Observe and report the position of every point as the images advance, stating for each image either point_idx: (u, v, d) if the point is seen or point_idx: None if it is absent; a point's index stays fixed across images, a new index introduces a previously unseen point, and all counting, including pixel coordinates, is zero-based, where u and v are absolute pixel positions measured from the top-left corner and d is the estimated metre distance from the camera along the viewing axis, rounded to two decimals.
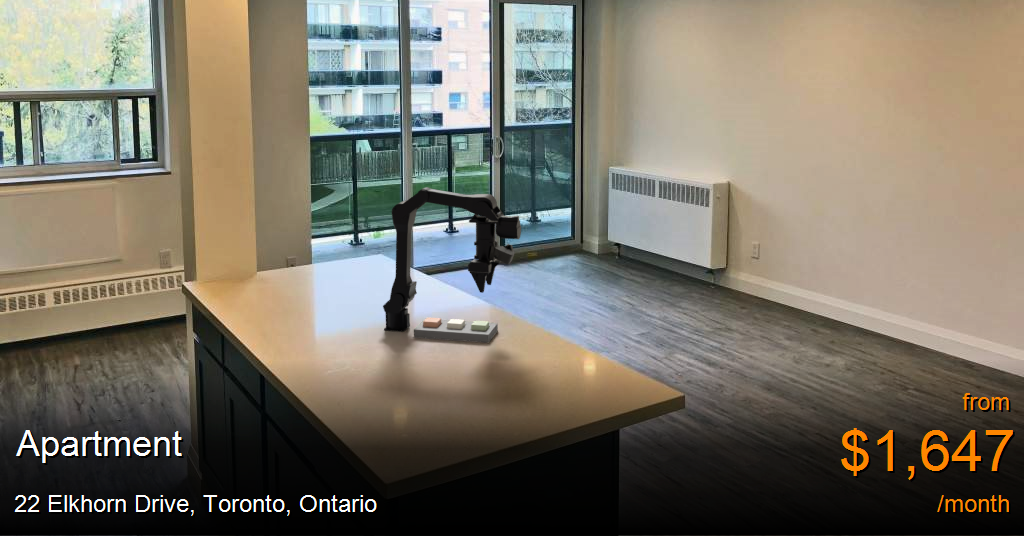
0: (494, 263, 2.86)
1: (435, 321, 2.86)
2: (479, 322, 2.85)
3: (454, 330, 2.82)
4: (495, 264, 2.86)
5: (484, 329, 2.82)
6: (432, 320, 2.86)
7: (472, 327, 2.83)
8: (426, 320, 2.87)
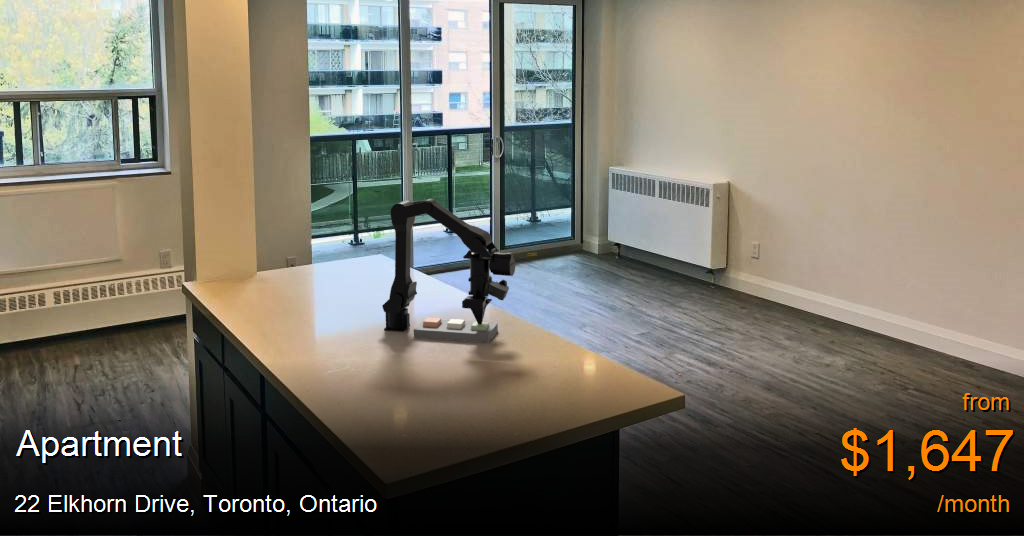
0: None
1: (435, 321, 2.86)
2: None
3: (454, 330, 2.82)
4: (486, 303, 2.83)
5: (484, 330, 2.82)
6: (432, 320, 2.86)
7: (472, 328, 2.83)
8: (426, 320, 2.87)
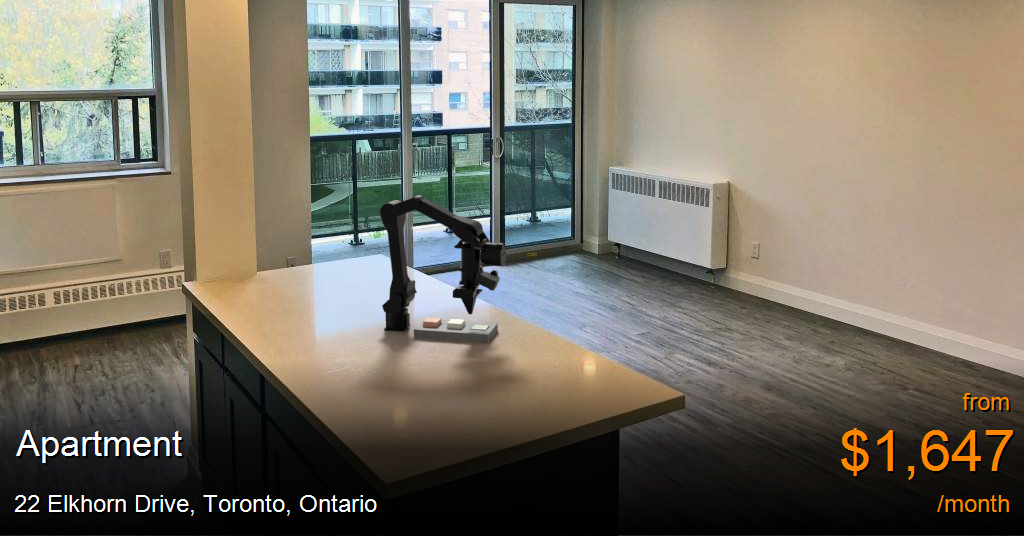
0: (476, 292, 2.83)
1: (435, 321, 2.86)
2: (479, 326, 2.85)
3: (454, 330, 2.82)
4: (477, 293, 2.83)
5: None
6: (432, 320, 2.86)
7: None
8: (426, 320, 2.87)
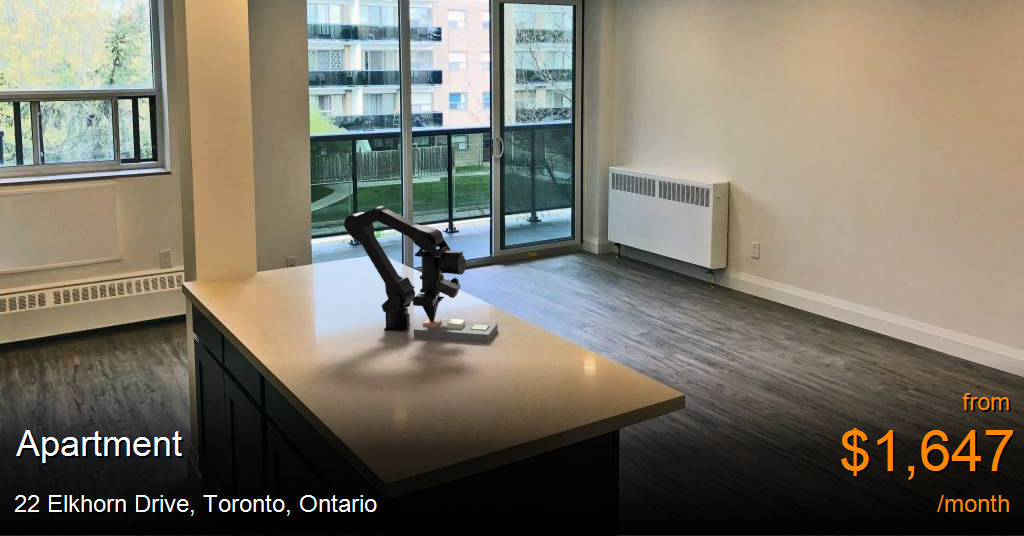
0: (437, 299, 2.86)
1: (435, 322, 2.86)
2: (479, 326, 2.85)
3: (454, 330, 2.82)
4: None
5: None
6: (432, 322, 2.87)
7: None
8: (426, 321, 2.87)
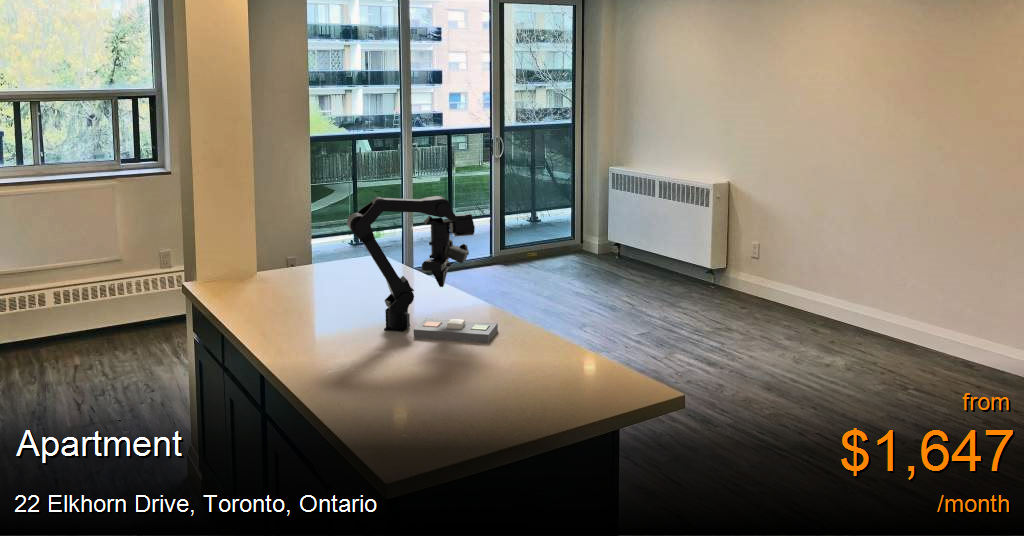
0: (446, 265, 2.93)
1: (435, 325, 2.86)
2: (479, 326, 2.85)
3: (454, 330, 2.82)
4: None
5: None
6: (432, 324, 2.87)
7: None
8: (426, 324, 2.87)
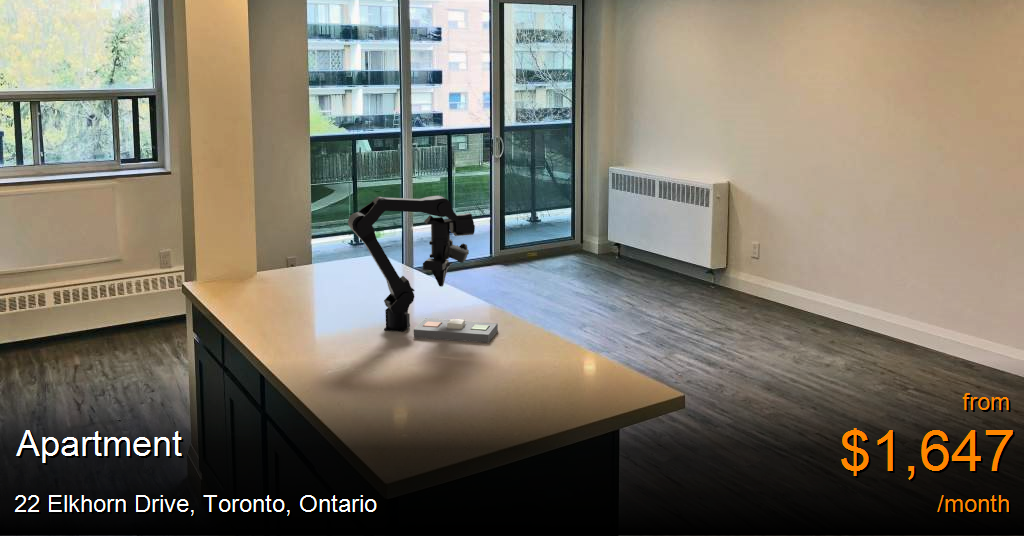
0: (446, 265, 2.94)
1: (435, 325, 2.86)
2: (479, 326, 2.85)
3: (454, 330, 2.82)
4: (447, 266, 2.94)
5: None
6: (432, 324, 2.87)
7: None
8: (426, 324, 2.87)
